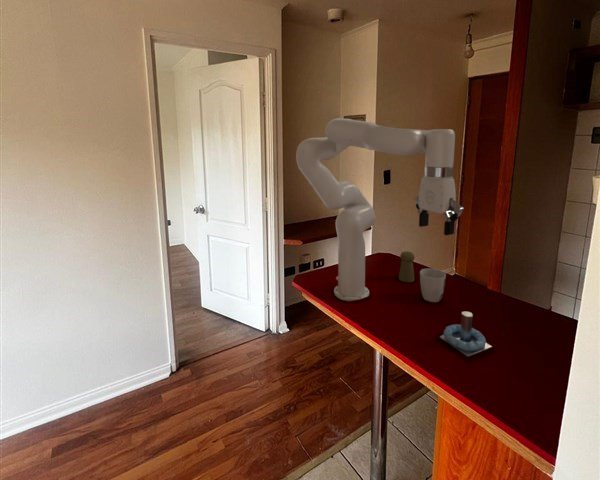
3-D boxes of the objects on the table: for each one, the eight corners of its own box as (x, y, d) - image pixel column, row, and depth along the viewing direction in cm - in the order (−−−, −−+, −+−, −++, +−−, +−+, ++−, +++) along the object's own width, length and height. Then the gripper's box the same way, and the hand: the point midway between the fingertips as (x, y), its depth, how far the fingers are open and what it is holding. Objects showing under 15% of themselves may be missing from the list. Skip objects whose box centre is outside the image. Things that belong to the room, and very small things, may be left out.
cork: (395, 276, 130) (396, 250, 128) (408, 274, 132) (409, 249, 130) (404, 283, 125) (405, 256, 123) (417, 280, 126) (419, 254, 124)
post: (439, 340, 90) (441, 309, 88) (462, 332, 93) (464, 302, 92) (467, 360, 82) (469, 327, 80) (491, 350, 85) (494, 318, 84)
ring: (435, 335, 90) (436, 328, 90) (461, 326, 94) (462, 319, 94) (466, 356, 81) (467, 349, 81) (493, 346, 85) (494, 339, 85)
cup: (446, 307, 107) (448, 279, 105) (420, 305, 108) (422, 277, 107) (441, 295, 114) (442, 269, 113) (417, 294, 116) (418, 267, 114)
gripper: (407, 170, 100) (405, 224, 103) (453, 176, 84) (449, 240, 87) (426, 169, 103) (423, 221, 105) (474, 174, 87) (470, 236, 90)
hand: (435, 230), depth 96 cm, fingers open, 9 cm apart
